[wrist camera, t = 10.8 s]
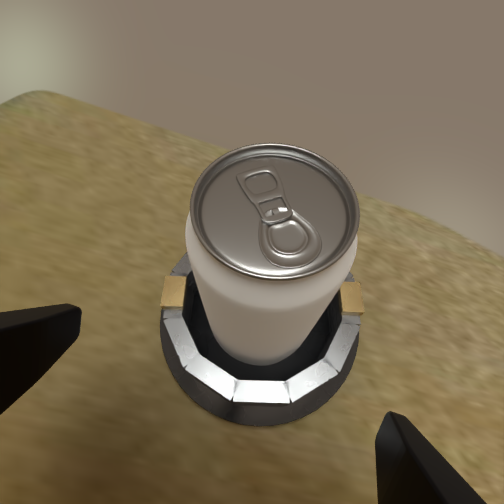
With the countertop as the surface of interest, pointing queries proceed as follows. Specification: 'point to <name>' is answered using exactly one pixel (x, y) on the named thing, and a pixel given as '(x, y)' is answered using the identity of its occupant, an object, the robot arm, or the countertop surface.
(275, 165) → the can
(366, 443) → the countertop surface
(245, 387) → the collar
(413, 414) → the countertop surface
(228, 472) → the countertop surface
